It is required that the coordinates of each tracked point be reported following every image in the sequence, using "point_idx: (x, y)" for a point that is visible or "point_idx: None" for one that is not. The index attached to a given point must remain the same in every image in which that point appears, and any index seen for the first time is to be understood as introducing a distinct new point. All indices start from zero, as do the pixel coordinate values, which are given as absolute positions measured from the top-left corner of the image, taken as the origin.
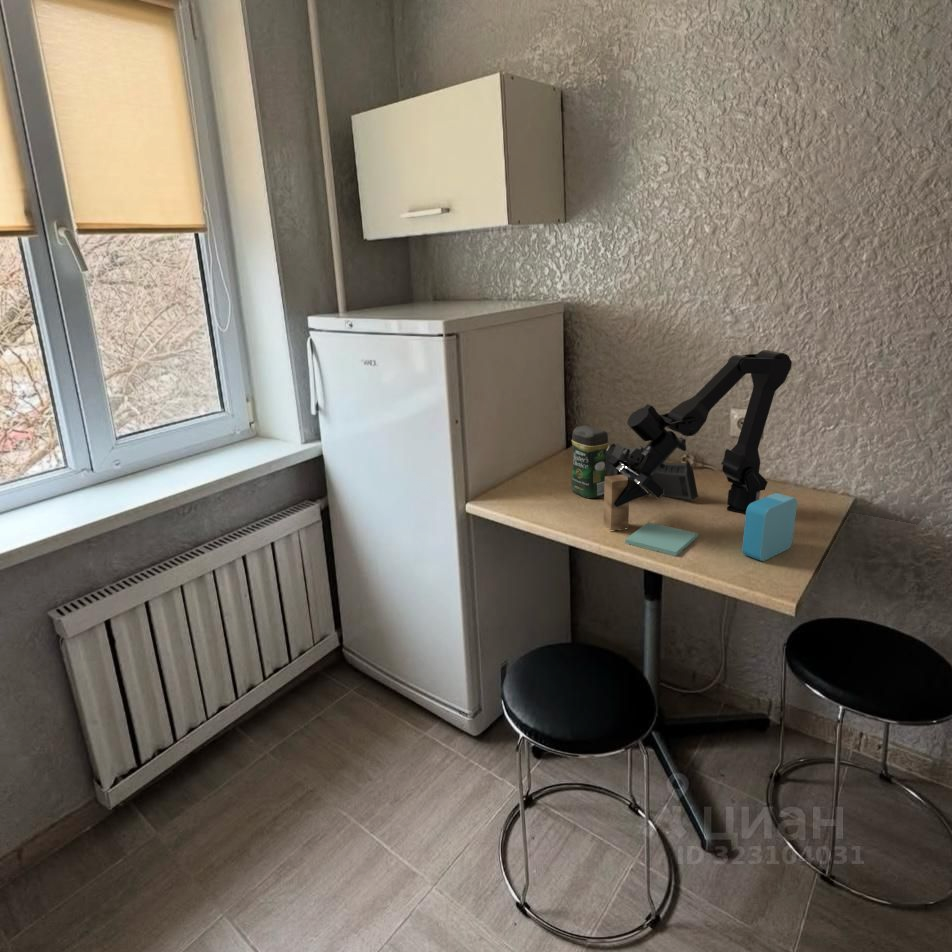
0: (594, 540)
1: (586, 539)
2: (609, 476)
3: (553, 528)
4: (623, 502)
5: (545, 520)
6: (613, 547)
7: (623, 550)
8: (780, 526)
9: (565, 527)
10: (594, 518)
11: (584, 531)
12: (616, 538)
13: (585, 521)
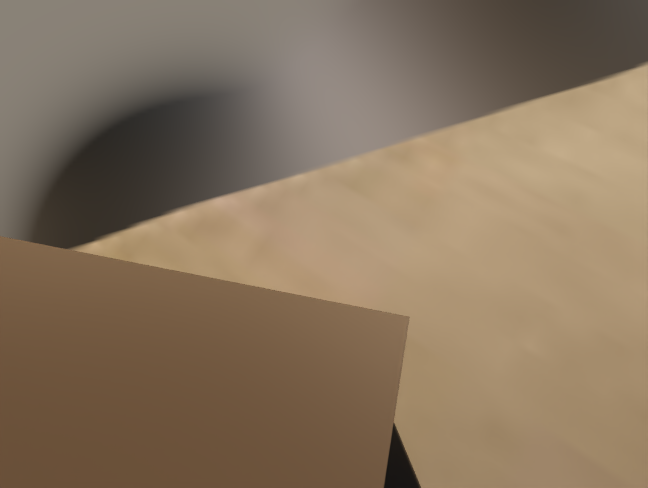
0: (215, 222)
1: (251, 195)
2: (351, 447)
3: (471, 126)
4: None
5: (603, 142)
6: None
7: None
8: None
9: (454, 184)
10: (514, 430)
11: (348, 243)
12: None
13: (489, 338)
